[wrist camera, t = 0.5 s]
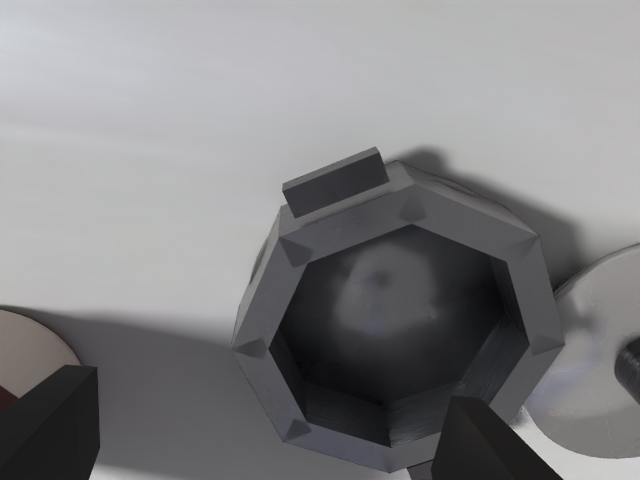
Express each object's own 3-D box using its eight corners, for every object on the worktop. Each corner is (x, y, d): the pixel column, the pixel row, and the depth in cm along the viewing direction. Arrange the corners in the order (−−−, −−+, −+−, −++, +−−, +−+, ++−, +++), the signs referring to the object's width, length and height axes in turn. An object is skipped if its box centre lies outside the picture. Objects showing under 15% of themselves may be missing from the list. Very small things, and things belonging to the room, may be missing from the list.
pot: (554, 383, 23) (589, 433, 20) (320, 462, 24) (324, 519, 21) (475, 90, 18) (509, 101, 15) (184, 208, 19) (165, 239, 16)
